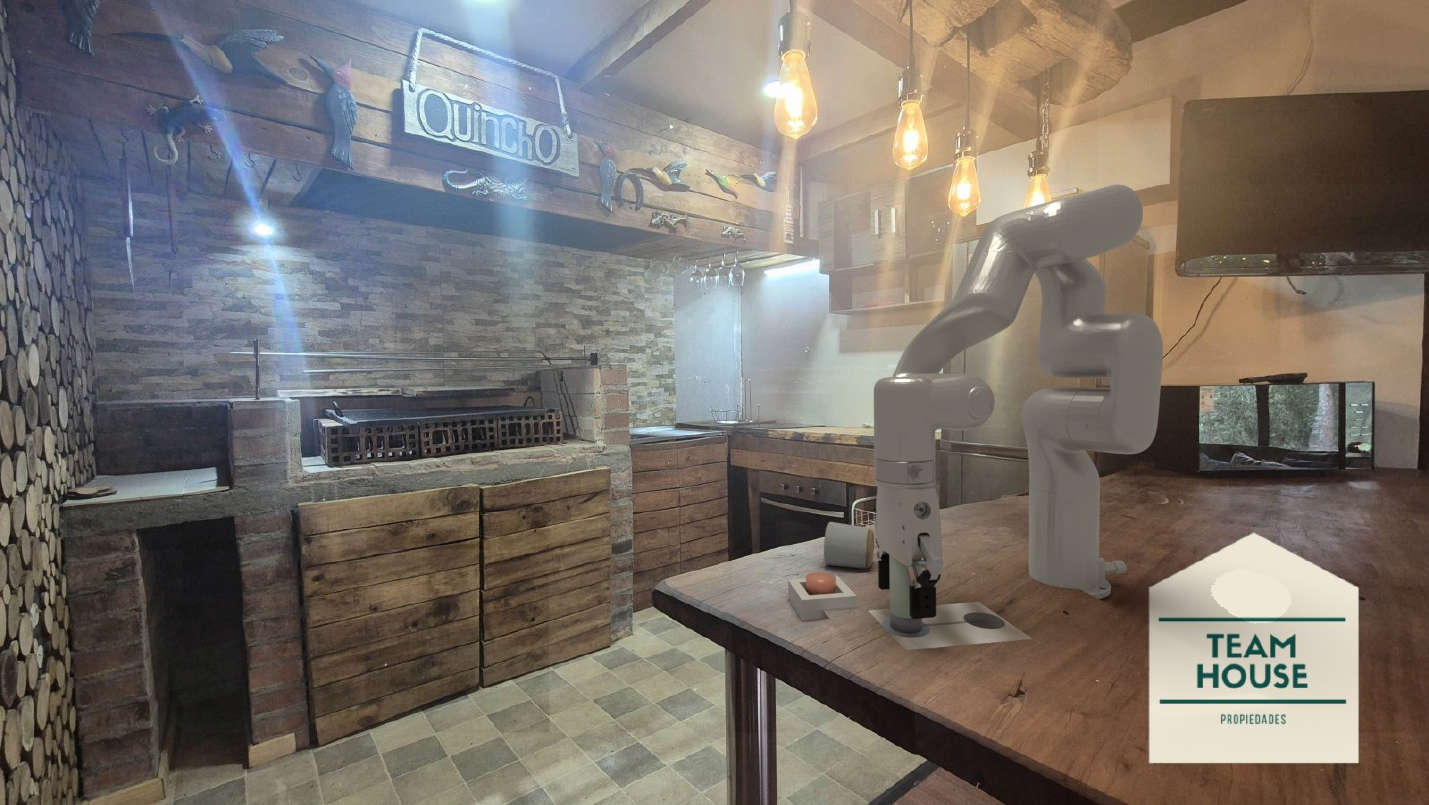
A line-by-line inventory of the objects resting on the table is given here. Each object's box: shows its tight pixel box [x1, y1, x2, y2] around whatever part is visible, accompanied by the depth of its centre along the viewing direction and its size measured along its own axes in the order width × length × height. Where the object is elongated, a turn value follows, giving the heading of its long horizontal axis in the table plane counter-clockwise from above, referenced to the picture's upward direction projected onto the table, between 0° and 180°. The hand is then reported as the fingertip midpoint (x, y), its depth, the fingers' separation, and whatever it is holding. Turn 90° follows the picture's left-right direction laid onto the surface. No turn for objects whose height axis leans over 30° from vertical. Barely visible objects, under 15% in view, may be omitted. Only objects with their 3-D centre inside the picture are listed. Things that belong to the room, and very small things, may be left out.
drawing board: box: [868, 601, 1033, 651], centre depth 75 cm, size 18×13×1 cm
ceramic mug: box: [823, 521, 875, 570], centre depth 103 cm, size 11×8×8 cm
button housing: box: [787, 575, 858, 622], centre depth 85 cm, size 8×8×3 cm
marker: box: [889, 555, 923, 634], centre depth 74 cm, size 4×4×11 cm
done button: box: [805, 571, 836, 595], centre depth 84 cm, size 4×4×2 cm
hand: (905, 601), depth 74 cm, fingers open, 9 cm apart
